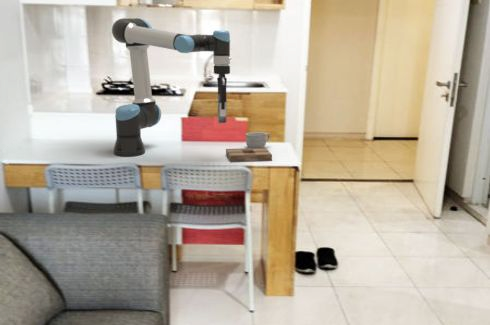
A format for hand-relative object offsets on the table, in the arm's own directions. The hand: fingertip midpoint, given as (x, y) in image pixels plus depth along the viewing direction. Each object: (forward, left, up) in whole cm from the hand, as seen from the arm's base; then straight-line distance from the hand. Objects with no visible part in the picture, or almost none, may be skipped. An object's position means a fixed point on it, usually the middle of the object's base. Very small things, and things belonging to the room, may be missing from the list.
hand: (222, 115), depth 249 cm
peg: (0, 0, -3) cm, 3 cm away
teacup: (-19, +22, -21) cm, 36 cm away
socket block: (0, +13, -21) cm, 25 cm away
